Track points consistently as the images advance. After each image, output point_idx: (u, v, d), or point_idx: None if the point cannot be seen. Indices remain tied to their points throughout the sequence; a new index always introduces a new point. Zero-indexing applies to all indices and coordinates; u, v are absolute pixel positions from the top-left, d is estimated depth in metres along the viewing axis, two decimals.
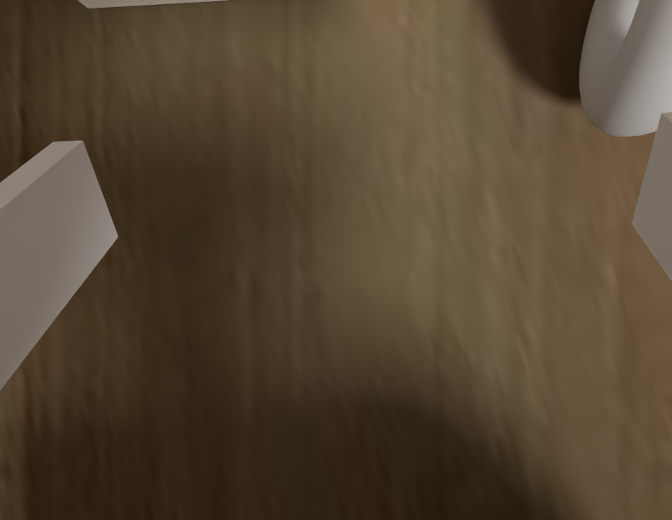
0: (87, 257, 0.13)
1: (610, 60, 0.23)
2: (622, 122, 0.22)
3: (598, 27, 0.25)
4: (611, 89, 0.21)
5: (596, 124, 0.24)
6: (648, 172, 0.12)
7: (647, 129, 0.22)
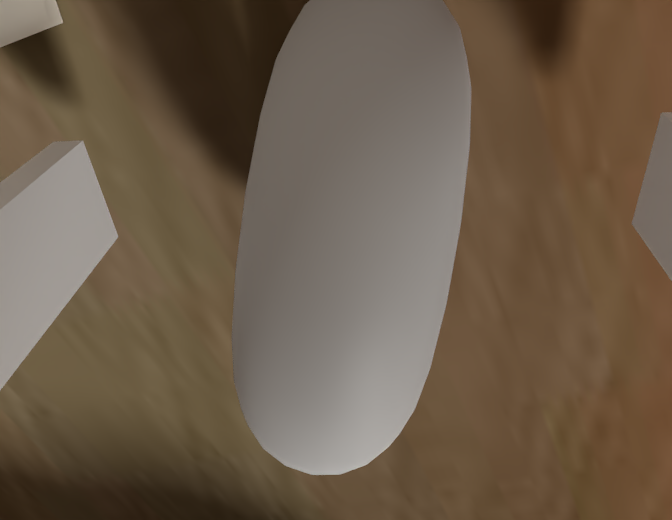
0: (87, 257, 0.13)
1: None
2: None
3: None
4: None
5: None
6: (647, 172, 0.12)
7: None
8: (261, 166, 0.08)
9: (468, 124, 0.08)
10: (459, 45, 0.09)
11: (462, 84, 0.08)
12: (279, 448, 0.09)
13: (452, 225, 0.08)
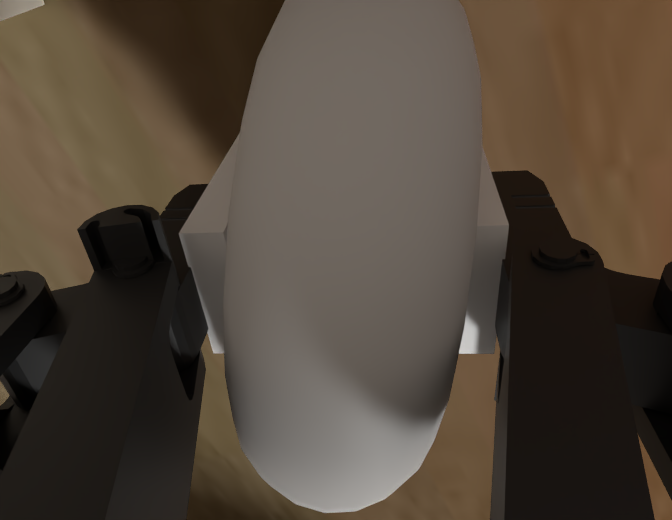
0: None
1: None
2: None
3: None
4: None
5: None
6: None
7: None
8: (243, 184, 0.07)
9: (479, 120, 0.07)
10: (465, 29, 0.07)
11: (470, 75, 0.07)
12: (284, 493, 0.08)
13: (466, 240, 0.07)
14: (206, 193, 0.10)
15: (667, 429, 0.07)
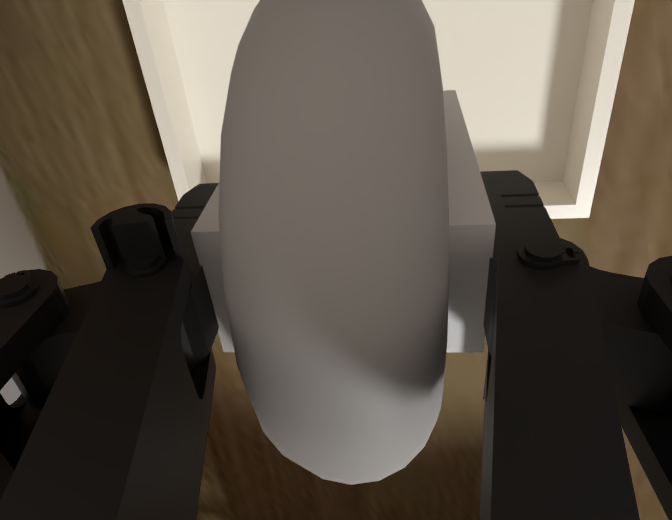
0: None
1: None
2: None
3: None
4: None
5: None
6: None
7: None
8: (225, 191, 0.07)
9: (438, 102, 0.07)
10: (417, 17, 0.08)
11: (424, 60, 0.07)
12: (305, 468, 0.09)
13: (434, 216, 0.07)
14: (216, 192, 0.10)
15: (652, 426, 0.07)
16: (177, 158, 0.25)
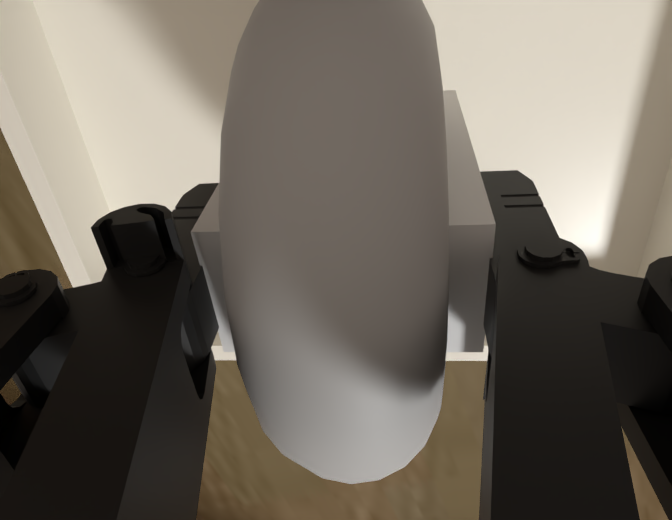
0: None
1: None
2: None
3: None
4: None
5: None
6: None
7: None
8: (225, 190, 0.07)
9: (438, 101, 0.07)
10: (417, 17, 0.08)
11: (424, 60, 0.07)
12: (305, 467, 0.09)
13: (434, 215, 0.07)
14: (216, 191, 0.10)
15: (652, 427, 0.07)
16: (83, 275, 0.17)
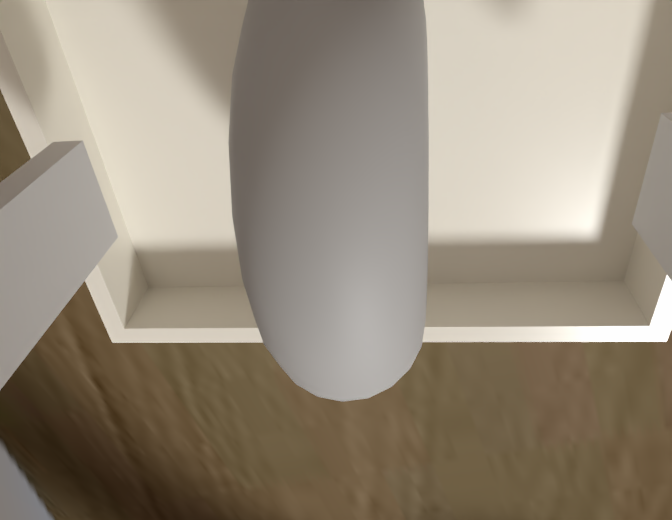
0: (87, 257, 0.13)
1: None
2: None
3: None
4: None
5: None
6: (648, 172, 0.12)
7: None
8: (235, 117, 0.08)
9: (420, 45, 0.09)
10: None
11: (407, 9, 0.09)
12: (300, 373, 0.10)
13: (413, 138, 0.08)
14: None
15: None
16: None
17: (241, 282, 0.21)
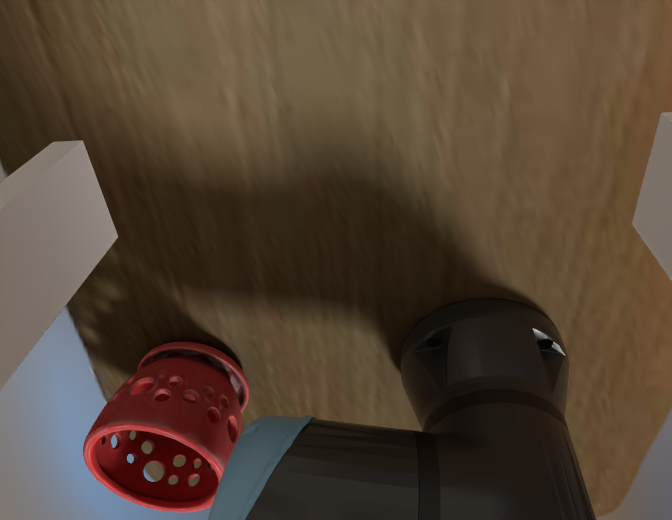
0: (87, 257, 0.13)
1: None
2: None
3: None
4: None
5: None
6: (647, 172, 0.12)
7: None
8: None
9: None
10: None
11: None
12: None
13: None
14: None
15: None
16: None
17: None
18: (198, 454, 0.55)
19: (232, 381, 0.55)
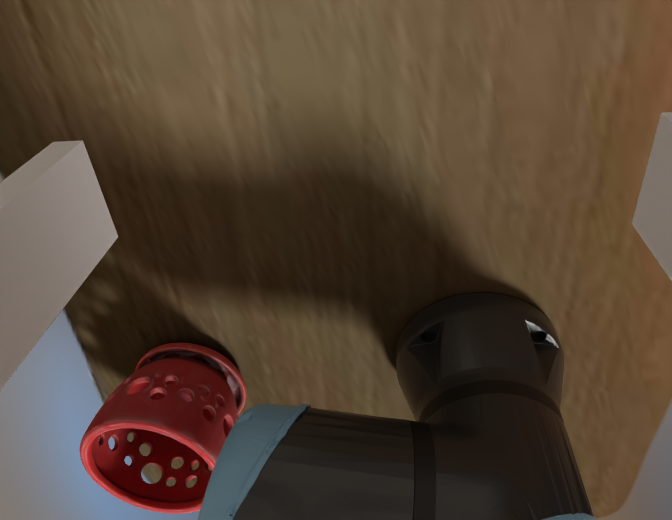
0: (87, 257, 0.13)
1: None
2: None
3: None
4: None
5: None
6: (647, 172, 0.12)
7: None
8: None
9: None
10: None
11: None
12: None
13: None
14: None
15: None
16: None
17: None
18: (196, 456, 0.55)
19: (229, 382, 0.55)
